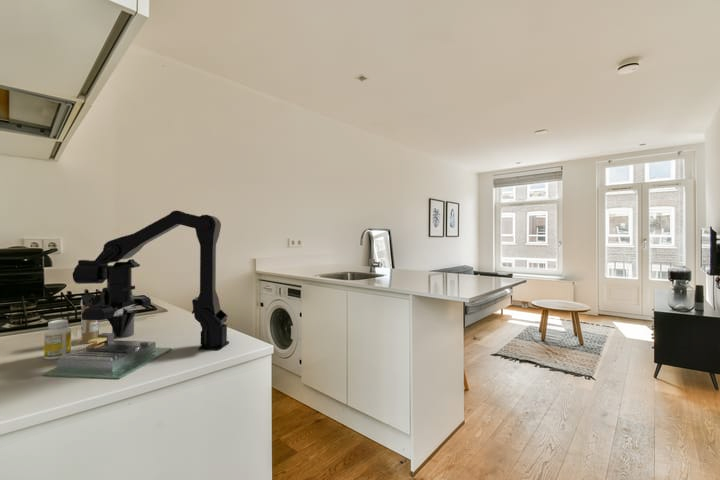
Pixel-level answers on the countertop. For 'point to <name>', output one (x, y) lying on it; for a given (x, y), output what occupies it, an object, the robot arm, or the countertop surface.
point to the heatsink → (107, 361)
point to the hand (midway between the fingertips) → (119, 336)
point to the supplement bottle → (57, 339)
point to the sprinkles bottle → (88, 328)
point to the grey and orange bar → (111, 347)
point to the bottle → (129, 329)
